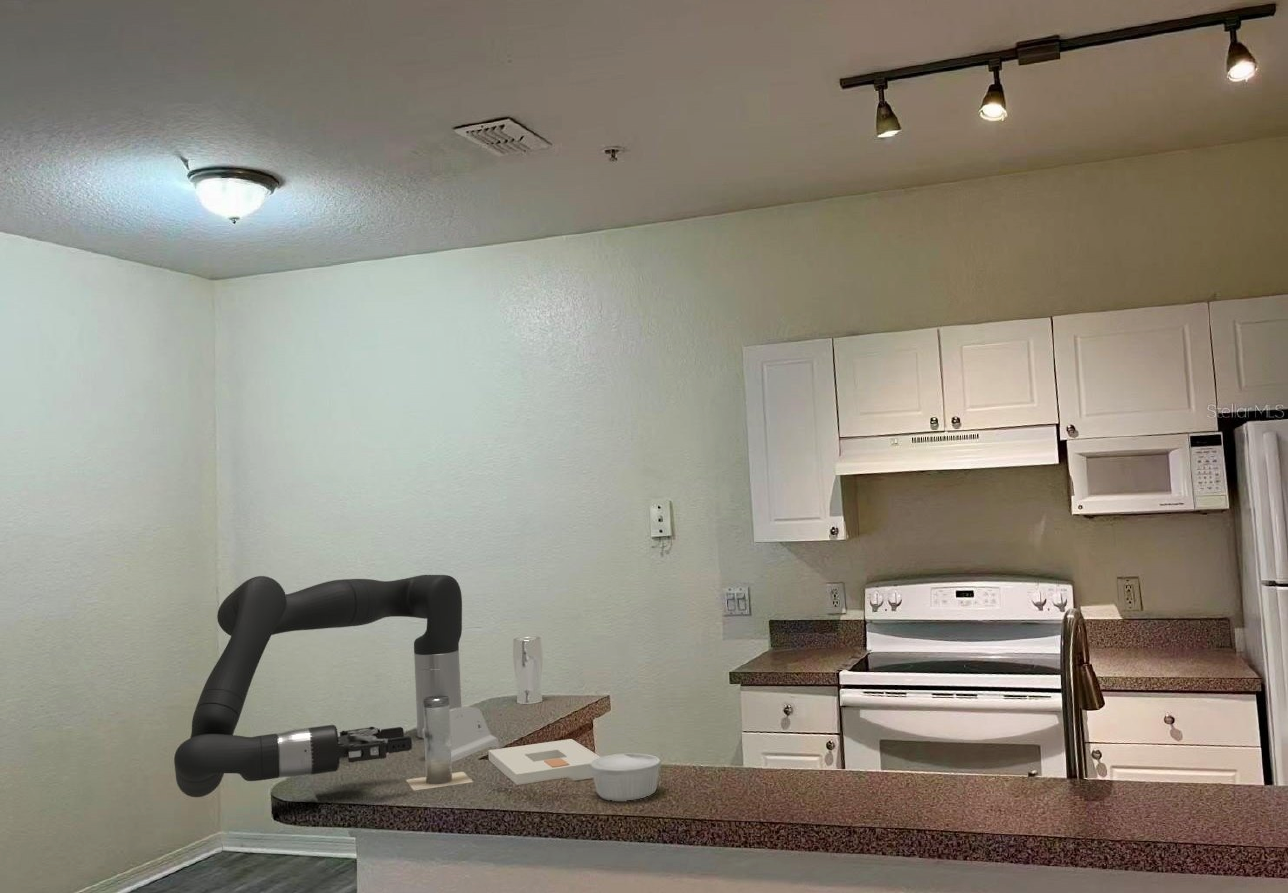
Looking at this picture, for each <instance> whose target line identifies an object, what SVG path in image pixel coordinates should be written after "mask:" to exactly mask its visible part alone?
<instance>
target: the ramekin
mask: <svg viewBox="0 0 1288 893" xmlns="http://www.w3.org/2000/svg"><path fill="white" fill-rule="evenodd" d="M661 764H662V762H661V760H660V759H659V757H657V756H655V755H650V754H645V753H636V752H635V753H615V754H608V755H604V756H600V758H597V759H595V760H593V761H592V762H591V764H590V768H591V771H592V773H593V778H592V779H593V783H594V787H595V791H596V794H597V795H598V796H599V797H600V798H601V799H602V800H607V801H610V800H612V801H611V802H628V801H627V800H633V799H639V798H643V797H646V796H649V795H651V794H653V793H654V794H655V792H656V790H657V787H658V780H659V774H660V773H659V771H660V768H661ZM654 794H653V795H654ZM651 796H652V795H651ZM649 797H650V796H649Z"/></svg>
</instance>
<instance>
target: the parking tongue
mask: <svg viewBox="0 0 1288 893" xmlns="http://www.w3.org/2000/svg"><path fill="white" fill-rule="evenodd" d="M405 781H406V782H407V783H408V786H409V787H410V788H411V790H412V791H413V792H416V791H422V790H428V789H436V788H442V787H443V788H444V787H448V786H455V785H462V784H463V785H464V784H469V783H474V781H473V779H472V778H470V777H469V776H468V775H467V773H465V772H464V771H458V772H452V781H450V782H447V783H443V784H428V783H426V776H424V777H422V776H421V777H416V778H409V779H405Z"/></svg>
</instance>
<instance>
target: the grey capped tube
mask: <svg viewBox="0 0 1288 893" xmlns="http://www.w3.org/2000/svg"><path fill="white" fill-rule="evenodd" d="M423 714H424V738H423V741H424V740H425V743H424V763H425V765H424V766H425V777H426V783H428V784H443V783H447V782H450V781H452V773H453V772H452V771H453V770H452V769H453V767H452V765H453V762H452V761H451V735H450V708H449V696H431V697H426V698H424V699H423Z"/></svg>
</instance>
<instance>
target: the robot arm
mask: <svg viewBox="0 0 1288 893" xmlns="http://www.w3.org/2000/svg"><path fill="white" fill-rule="evenodd" d="M216 616H217V622H218V625H219V627H220V629H221V630H222V631H223V632H224V633H225V634H227V636H230V638H229V640H228V642H227V645H226V646H225V648H224V650H223V652H222V654H221V655H220V657H219V658H218V660H217V662H216V664H214V666H213V669H212V670H211V672H210V674H209V676H208V677H207V679H206V681H205V683H204V686H203V688H202V690H201V693H200V696H199V699H198V701H197V704H196V707H195V710H194V712H193V716H192V720H191V732H190V737H189V738H188V739H186V740H185V741H183V742H182V743H181V744H179V746H178V747H177V749H176V751H175V754H174V759H173V762H174V771H175V772H174V773H175V780H176V784H177V786H178V788H179V790H180V791H181V792H182V793H183V794H185V795H186V796H188V797H192V798H202V797H204V796H208V795H209V794H211V793H213V792H214V791H215V790H216V789H217V788H218V787H219V785H220V784H221V783H222V780H223V778H224V775H225V774H237V775H240V776H241V778H242V780H244V781H246V782H261V781H266V780H274V779H280V778H300V777H305V776H311V775H313V776H314V775H320V774H326V773H333V772H337V771H338V770H339V768H340V760H341V759H342V758H344V759H345V758H348V763H350V764H351V763H356V762H364V761H365V762H366V761H371V760H373V761H374V760H379V759H381V760H382V759H385V758H387V756H389V754H394V753H401V752H409V751H411V750H412V748H413V744H412V743H413V742H412V741H413V740H412V737H410V735H409V736H405V732H404V728H403V727H402V726H398V727H391V728H389V727H388V728H382V729H381V728H378V727H375V726H369V727H363V728H356V729H355V728H354V729H348V730H342V731H339V733H338V729H337V726H336V725H335V724H329V725H320V726H319V725H318V726H313V727H305V728H298V729H290V730H286V731H282V732H278V733H271V734H263V735H262V734H261V735H257V736H255V735H254V736H251V737H250V736H243V735H234V733H235V731H236V728H237V725H238V723H239V721H240V720H239V719H240V716H241V714H242V711H243V707H244V705H245V702H246V698H247V696H248V692H249V688H250V686H251V685H252V681H253V678H254V675H255V673H256V671H257V668H258V666H259V664H260V661H261V658H262V656H263V654H264V651H265V649H266V648H267V646H268V643H269V641H270V639H271V637H272V636H274V635H279V634H284V633H290V632H295V631H298V632H299V631H310V630H311V631H313V630H324V629H339V628H341V629H342V628H350V627H351V628H352V627H358V626H364V625H369V624H372V623H374V622H377V621H379V620H381V619H385V618H391V617H400V618H417V619H425V620H426V630H425V631H424V632H423V634H422V635H421V636H419V637H417V638H416V639H415V640H414V642H413V655H414V656H413V657H414V658H413V659H414V677H415V678H414V681H415V699H416V700H415V702H416V728H417V730H416V732H417V737H418V738H420V739H424V738H423V734H422V730H423V728H424V714H423V699H424V698H426V697H431V696H449V708H450V710H451V709H454V708H460V707H462V689H461V687H462V686H461V671H460V670H461V668H460V667H461V665H460V650H459V648H460V647H459V646H460V640H461V637H462V630H463V597H462V591H461V587H460V585H459V582H458V581H457V579H455V578H454V577H453V576H452V575H451V576H450V575H448V574H420V575H414V576H412V577H407V578H401V579H395V580H388V581H384V580H377V579H370V578H348V579H346V578H345V579H344V578H343V579H335V580H328V581H325V582H321V583H318V584H314V585H312V586H308V587H306V588H304V589H299V590H298V591H294V592H291V593H286V592H285V589H284V588H283V587H282V585H281V584H280V583H279V582H278V581H277V580H275V579H274V578H272V577H269V576H266V575H258V576H253V577H251V578H249V579H247V580H245V581H244V582H243V583H241V584H240V585H239V586H238V587H237V588H235V589H234V590H233V591H232V592H231V593H229V595H227V596H226V597H225V599H223V601H222V603H221V604H220V606H219V608H218V610H217V615H216Z"/></svg>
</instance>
